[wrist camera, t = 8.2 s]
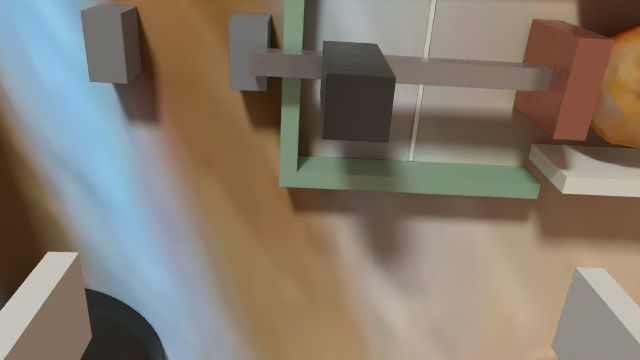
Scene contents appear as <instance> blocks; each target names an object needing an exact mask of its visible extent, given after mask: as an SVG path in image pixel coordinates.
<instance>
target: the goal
mask: <svg viewBox="0 0 640 360" xmlns="http://www.w3.org/2000/svg"><path fill="white" fill-rule="evenodd" d="M529 159H530V160H531V161H532V162H533V163H534V164H535V165H536V166H537V167H538V169H539V170H540V171H541V172H542V173H543V174H544V175H545V176H546V177H547V178H548V179H549V180H550V181H551V182H552V183H553V184H554V185H555V186H556V187H557V189H558V190H559V191H560V192H561V193H564V194H584V195H605V196H626V197H640V149H631V148H612V147H593V146H573V145H554V144H535V143H532V146H531V150H530V154H529Z"/></svg>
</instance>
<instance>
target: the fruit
mask: <svg viewBox="0 0 640 360" xmlns="http://www.w3.org/2000/svg"><path fill="white" fill-rule="evenodd" d="M609 38H611V39H614V40H615V41H614V45H613V48H612V51H611V55H610V58H609V61H608V65H607V68H606V72H605V75H604V78H603V82H602V85H601V89H600V92H599V95H598V99H597V102H596V105H595V109H594V112H593V116H592V119H591V122H590V127H591V128H592V129H593V130H594V131H595V132H597V133H598V134H599V135H600V136H601V137H602V138H603V139H604V140H605V141H608V142H610V143H612V144H620V145H625V146H629V147H632V148H640V25H636V26H632V27H629V28H627V29H625V30H623V31H621V32H619V33H617V34H615V35H613V36H611V37H609Z"/></svg>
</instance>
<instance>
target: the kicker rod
mask: <svg viewBox="0 0 640 360" xmlns="http://www.w3.org/2000/svg"><path fill="white" fill-rule="evenodd" d="M614 41H615V40H614V39H611V38H608V37H606V36H603V35H600V34H597V33H594V32H592V31H589V30H586V29H583V28H581V27H578V26H575V25H572V24H569V23H567V22H564V21H555V20H539V19H533V21H532V26H531V30H530V35H529V39H528V44H527V48H526V52H525V57H524V61H523V63H514V62H497V61H480V60H462V59H445V58H428V57H410V56H393V55H383V54H382V52H381V50H380V48H379V47H378V45H377V44H371V43H354V42H337V41H323V51H306V50H289V49H272V48H254V47H251V49H250V51H249V75H255V76H273V77H291V78H309V79H321V88H320V100H321V121H322V139H329V140H349V141H368V142H387V143H388V139H389V131H390V123H391V115H392V107H393V99H394V91H395V83H399V84H417V85H435V86H453V87H471V88H489V89H507V90H517V92H516V97H515V101H514V106H515V107H516V108H517V109H519V110H520V111H521V112H522V113H523V114H524V115H525V116H527V117H528V118H529V119H530V120H531V121H532V122H534V123H535V124H536V125H537V126H538V127H539V128H540V129H542V130H543V131H544V132H545V133H546V134H547V135H549V136H550V137H551V138H552V139H562V140H581V141H585V139H586V136H587V133H588V129H589V126H590V122H591V119H592V116H593V112H594V109H595V105H596V102H597V99H598V95H599V92H600V89H601V85H602V82H603V78H604V75H605V72H606V68H607V65H608V61H609V58H610V55H611V51H612V48H613V45H614Z"/></svg>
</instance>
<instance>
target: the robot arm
mask: <svg viewBox="0 0 640 360" xmlns="http://www.w3.org/2000/svg"><path fill="white" fill-rule="evenodd" d="M551 347H552V349H553V350H554V352H555V353H556V355H557V357H558V358H559V360H640V308H639V307H638V305H637V304H636V303H635V302H634V301H633V300H632V299H631V298H630V297H629V296H628V295H627V293H626V292H625V291H624V290H623V289H622V288H621V287H620V286H619V285H618V284H617V283H616V282H615V280H614V279H613V278H612V277H611V276H610V275H609V274H608V273H607V272H606V271H605V270H604V268H577V267H576V269H575V272H574V275H573V278H572V282H571V285H570V288H569V291H568V294H567V298H566V301H565V304H564V307H563V310H562V314H561V317H560V320H559V323H558V326H557V330H556V333H555V336H554V339H553V343H552V346H551ZM0 360H164V356H163V350H162V347H161V344H160V341H159V339H158V337H157V335H156V333H155V332H154V330H153V329H152V327H151V326H150V325H149V324H148V322H147V321H146V320H145V319H144V318H143V317H142V316H141V315H140V314H139V313H137V312H136V311H135V310H134V309H132V308H131V307H129V306H128V305H126V304H125V303H123V302H121V301H119V300H118V299H116V298H113V297H111V296H109V295H106V294H104V293H101V292H98V291H94V290H90V289H86V288H84V282H83V276H82V269H81V263H80V257H79V253H75V252H48V253H47V254H46V255H45V256H44V258H43V259H42V260H41V261H40V262H39V264H38V265H37V266H36V267H35V269H34V270H33V271H32V272H31V274H30V275H29V276H28V277H27V279H26V280H25V281H24V282H23V284H22V285H21V286H20V287H19V289H18V290H17V291H16V292H15V294H14V295H13V296H12V297H11V299H10V300H9V301H8V302H7V304H6V305H5V306H4V307H3V309H2V310H1V311H0Z"/></svg>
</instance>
